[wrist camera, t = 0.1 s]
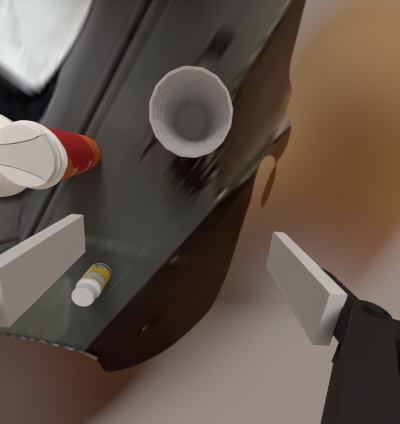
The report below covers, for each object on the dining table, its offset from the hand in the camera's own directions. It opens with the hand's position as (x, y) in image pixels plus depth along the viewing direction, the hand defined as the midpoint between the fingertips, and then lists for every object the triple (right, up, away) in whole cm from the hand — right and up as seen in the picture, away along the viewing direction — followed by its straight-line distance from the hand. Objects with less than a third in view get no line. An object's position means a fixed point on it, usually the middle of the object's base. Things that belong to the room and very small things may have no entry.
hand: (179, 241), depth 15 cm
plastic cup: (0, +18, +24) cm, 30 cm away
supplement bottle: (-20, -11, +32) cm, 40 cm away
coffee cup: (-20, +13, +25) cm, 34 cm away
